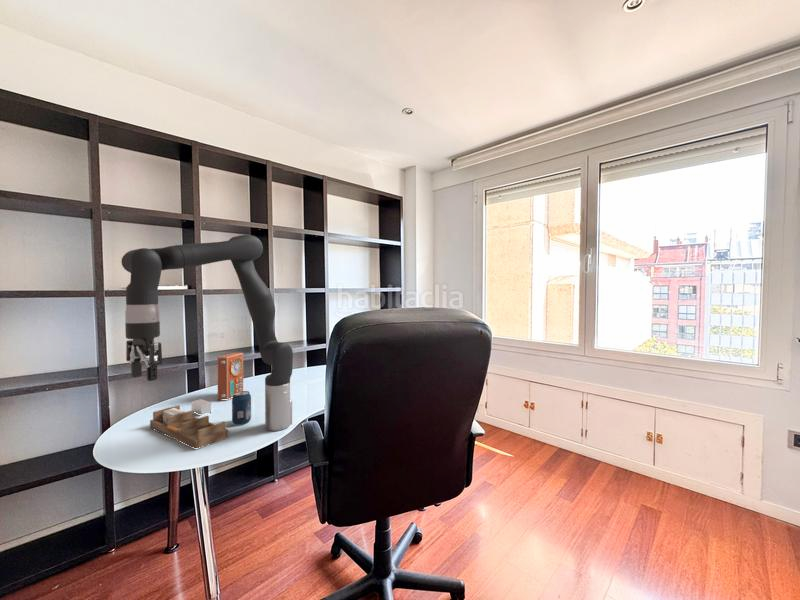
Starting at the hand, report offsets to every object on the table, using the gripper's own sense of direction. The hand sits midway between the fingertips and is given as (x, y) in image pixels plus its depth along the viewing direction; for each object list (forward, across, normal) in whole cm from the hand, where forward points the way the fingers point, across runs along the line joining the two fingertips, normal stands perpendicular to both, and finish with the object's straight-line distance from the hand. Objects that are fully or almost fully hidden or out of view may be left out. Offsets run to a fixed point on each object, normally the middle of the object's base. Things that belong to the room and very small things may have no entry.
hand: (144, 378), depth 90 cm
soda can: (+29, +13, -39) cm, 50 cm away
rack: (+29, +22, -23) cm, 43 cm away
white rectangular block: (+29, +38, -37) cm, 60 cm away
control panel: (+29, +48, -58) cm, 80 cm away
